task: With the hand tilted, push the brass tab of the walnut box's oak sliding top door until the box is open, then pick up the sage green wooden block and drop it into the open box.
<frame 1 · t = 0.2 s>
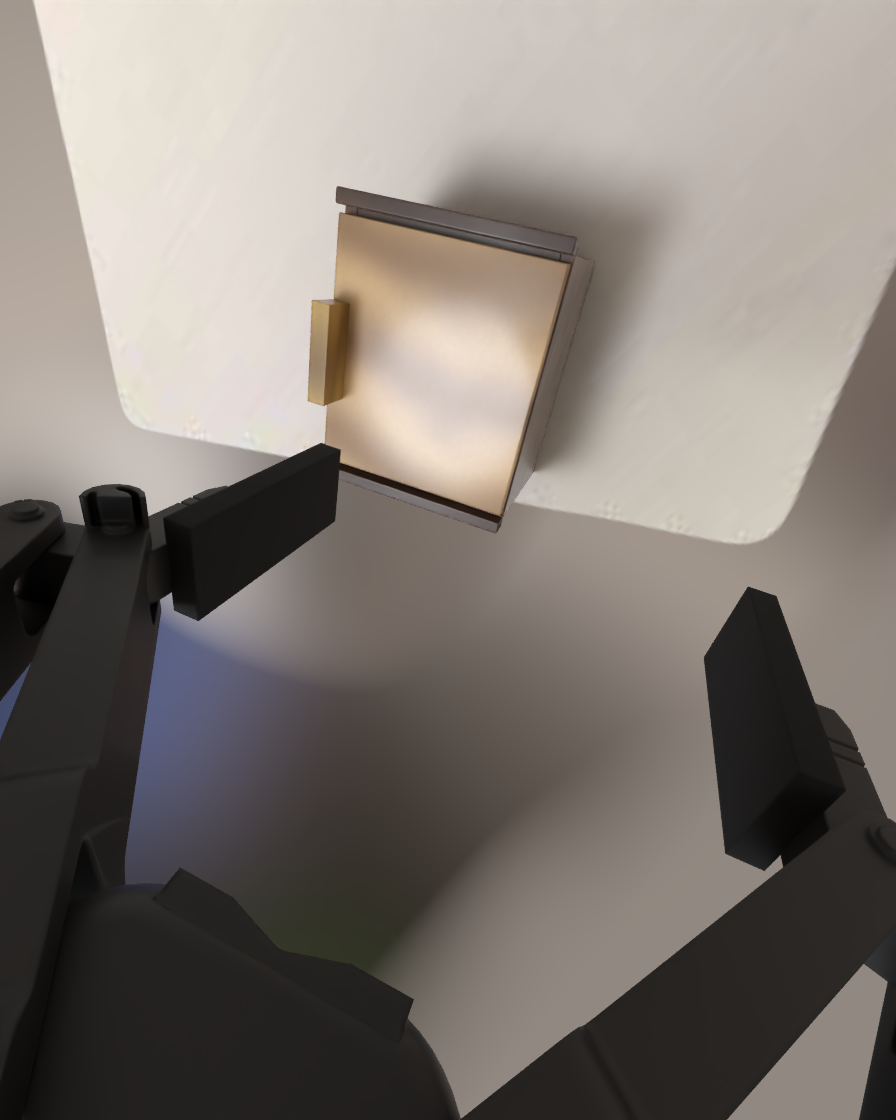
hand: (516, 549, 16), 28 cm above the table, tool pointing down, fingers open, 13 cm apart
sliding lid: (420, 378, 32), point 12 cm above the table, slide at 0.0 cm
walnut box: (477, 356, 41), on the table
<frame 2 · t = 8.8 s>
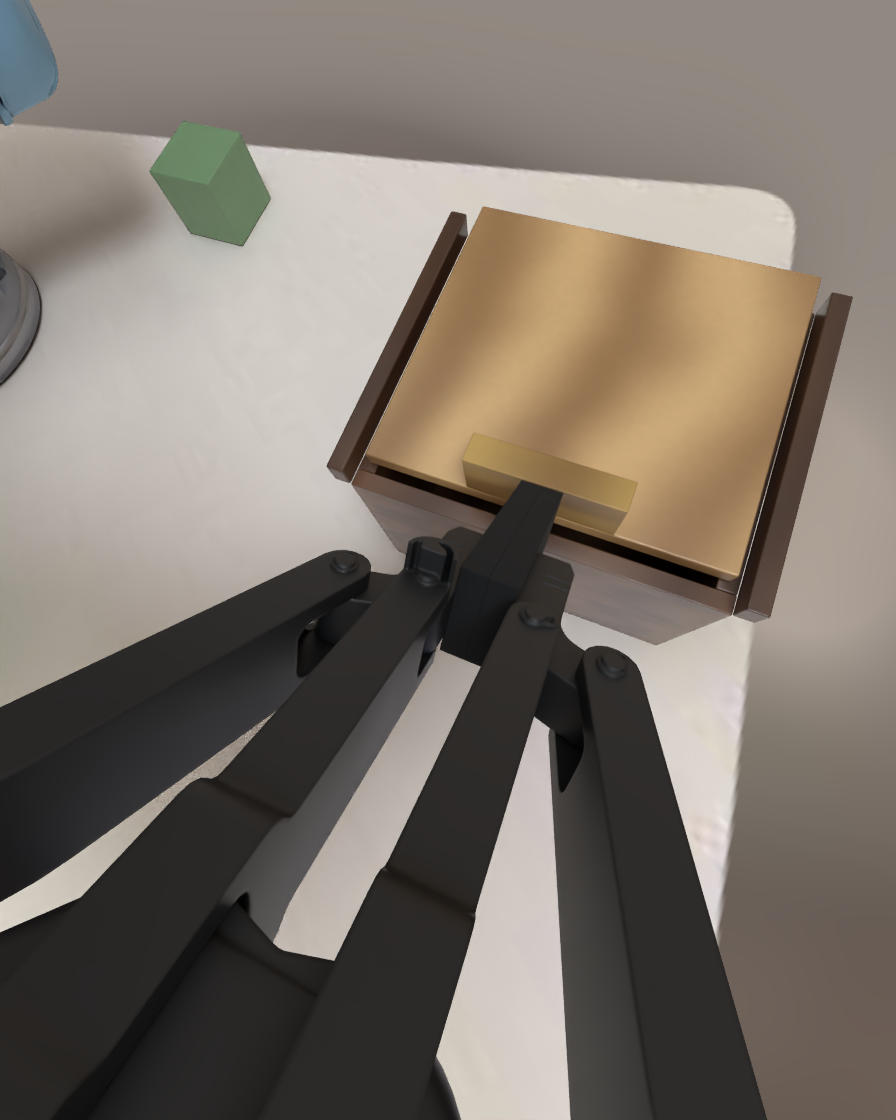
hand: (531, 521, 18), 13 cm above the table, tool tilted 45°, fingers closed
sliding lid: (596, 352, 21), point 12 cm above the table, slide at 1.1 cm, touching gripper
block: (230, 215, 41), on the table
walnut box: (559, 491, 32), on the table
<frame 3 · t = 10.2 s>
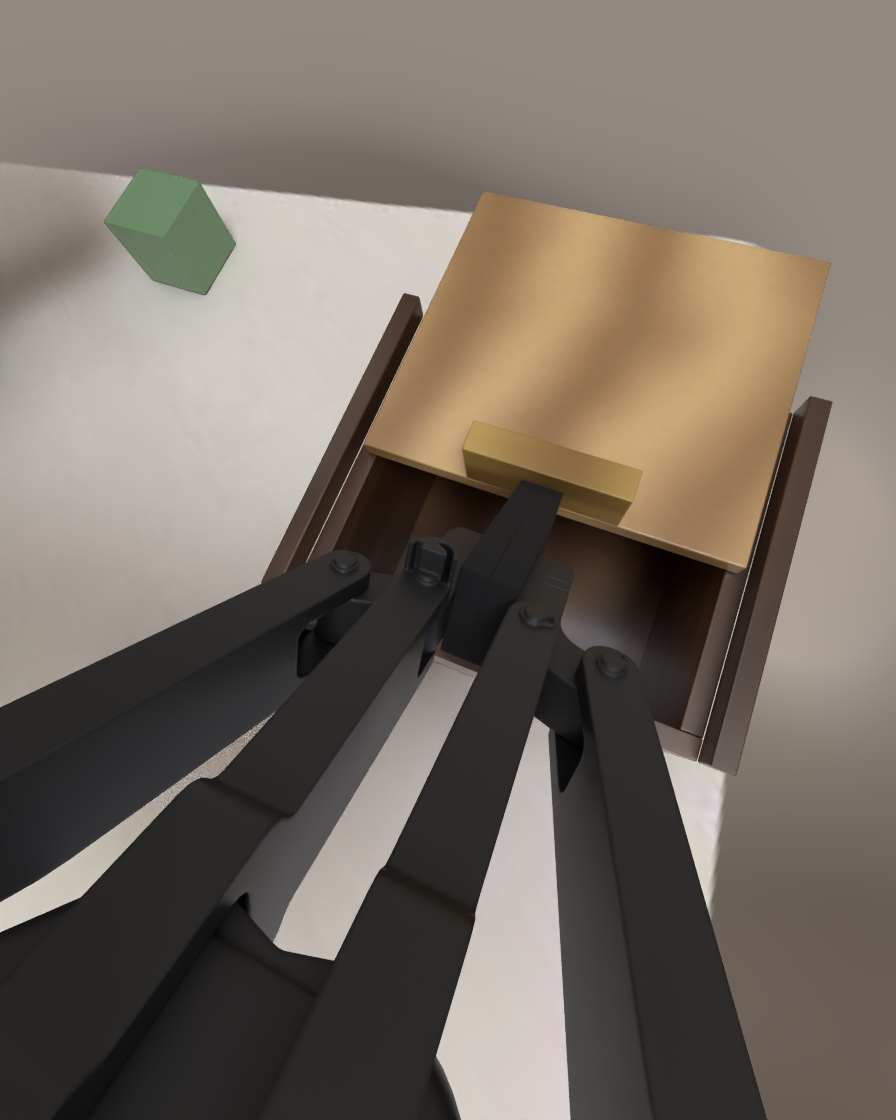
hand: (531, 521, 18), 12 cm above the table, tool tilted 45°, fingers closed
sliding lid: (599, 339, 20), point 12 cm above the table, slide at 6.7 cm, touching gripper
block: (194, 262, 39), on the table
walnut box: (529, 568, 30), on the table
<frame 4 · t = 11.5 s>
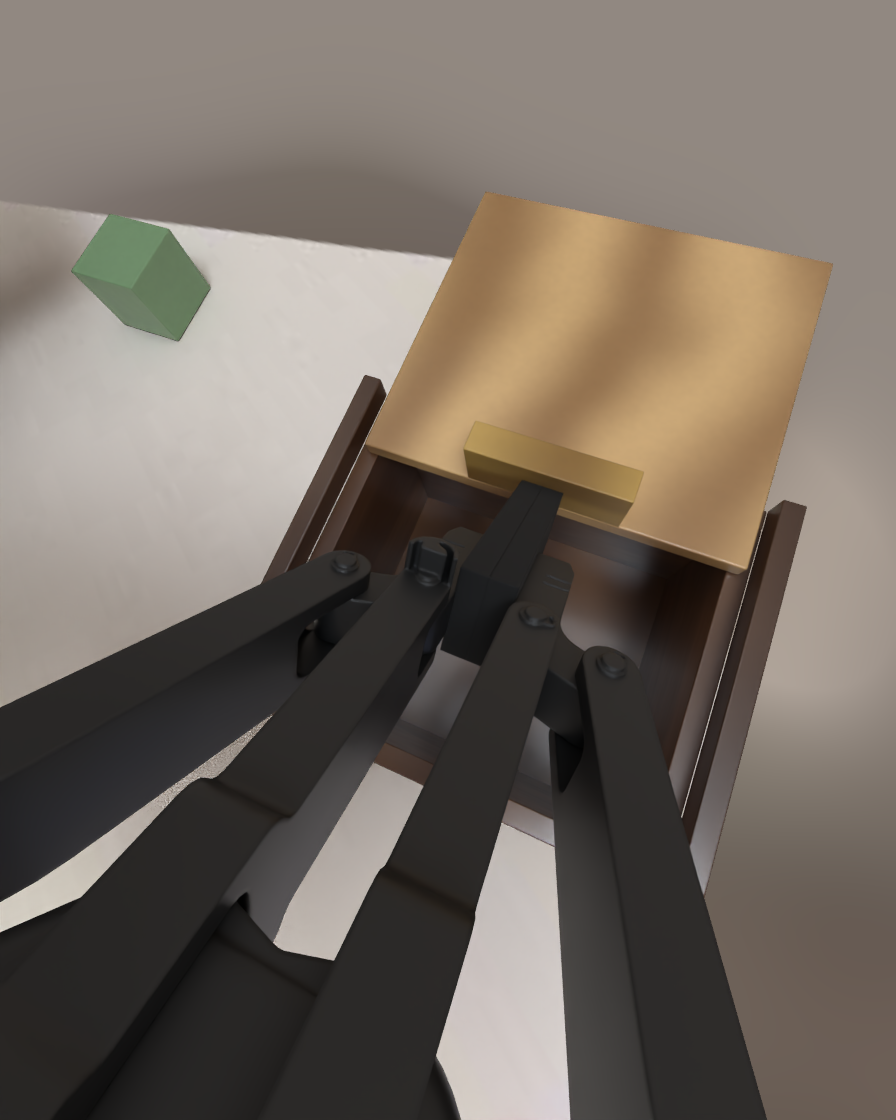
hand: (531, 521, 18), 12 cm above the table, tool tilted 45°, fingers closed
sliding lid: (601, 340, 20), point 12 cm above the table, slide at 11.0 cm, touching gripper
block: (167, 306, 38), on the table
walnut box: (503, 638, 29), on the table
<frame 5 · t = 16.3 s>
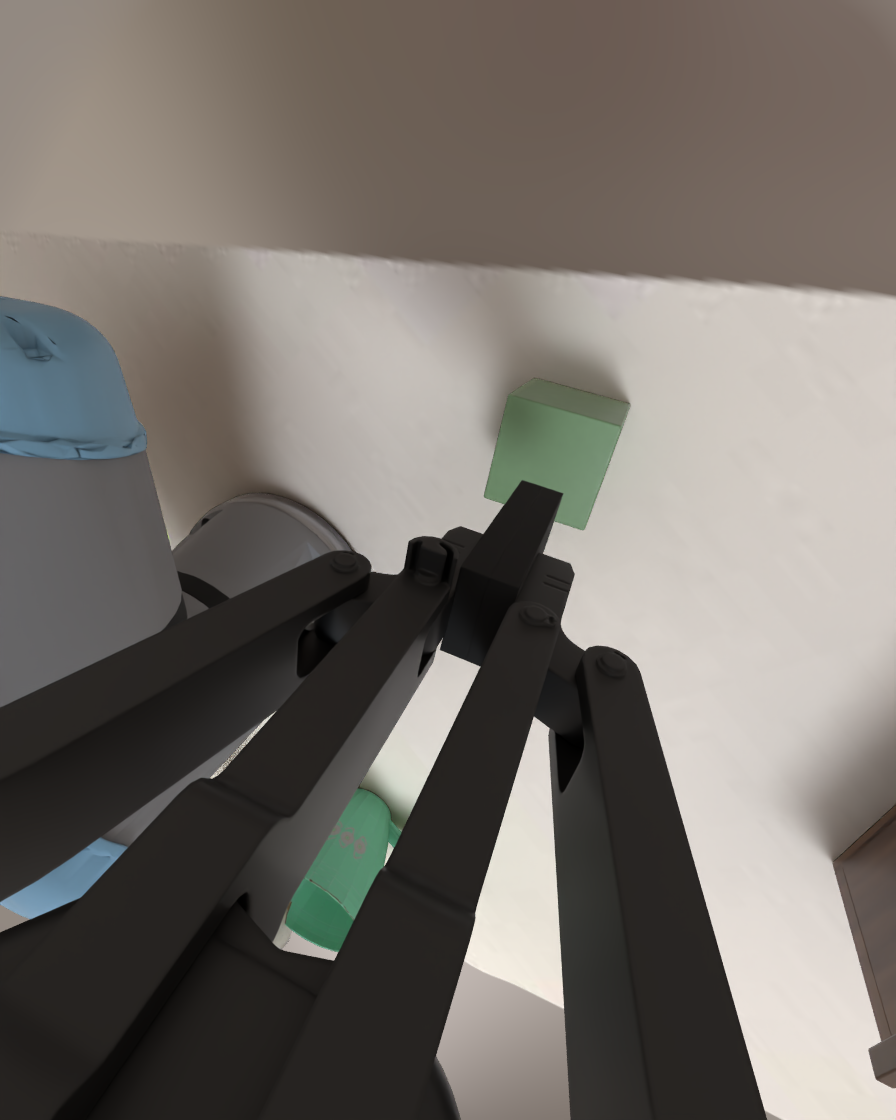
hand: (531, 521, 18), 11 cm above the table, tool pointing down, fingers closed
candle holder: (323, 830, 54), on the table
block: (566, 438, 27), on the table
mug: (391, 816, 49), on the table
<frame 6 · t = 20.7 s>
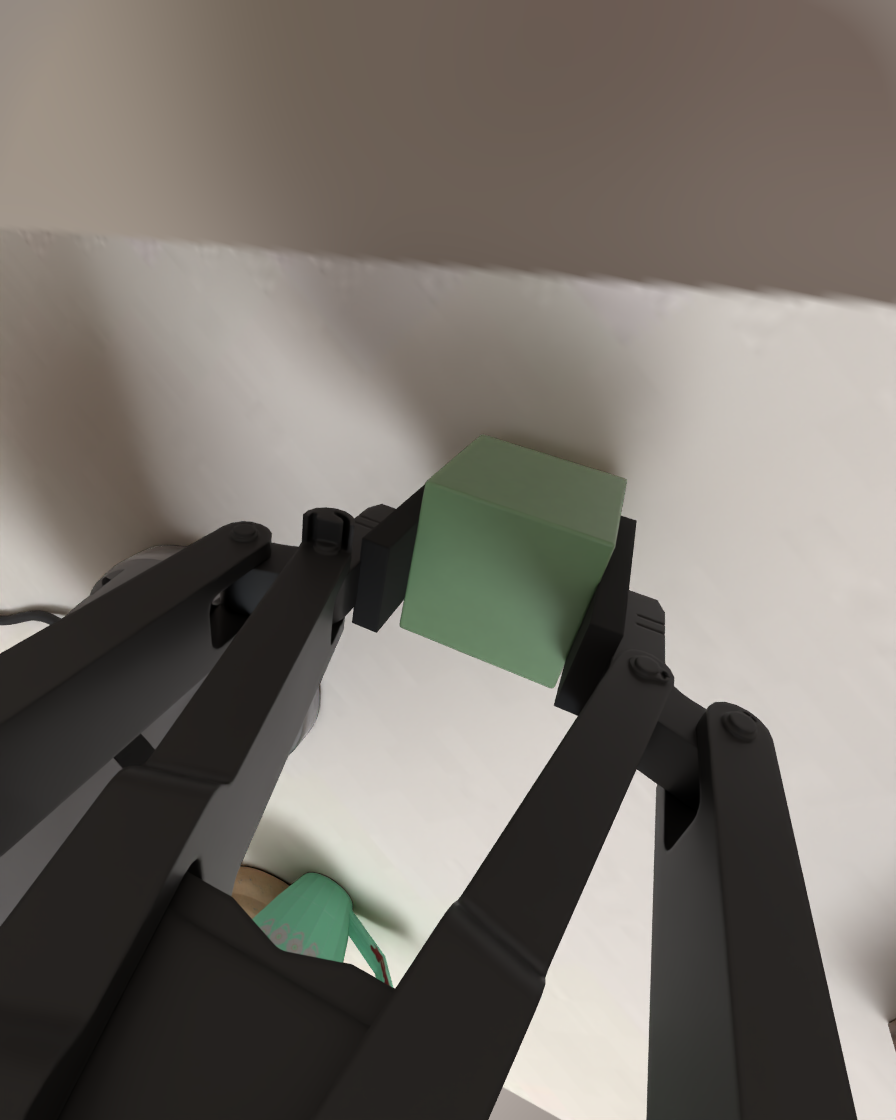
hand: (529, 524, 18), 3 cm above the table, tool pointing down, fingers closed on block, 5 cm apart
candle holder: (280, 907, 48), on the table
block: (531, 521, 18), point 2 cm above the table, touching gripper
mug: (354, 904, 42), on the table
when the fingers open (6 cm above the table, at t = 28.1 s): block drops 5 cm, resting on walnut box.
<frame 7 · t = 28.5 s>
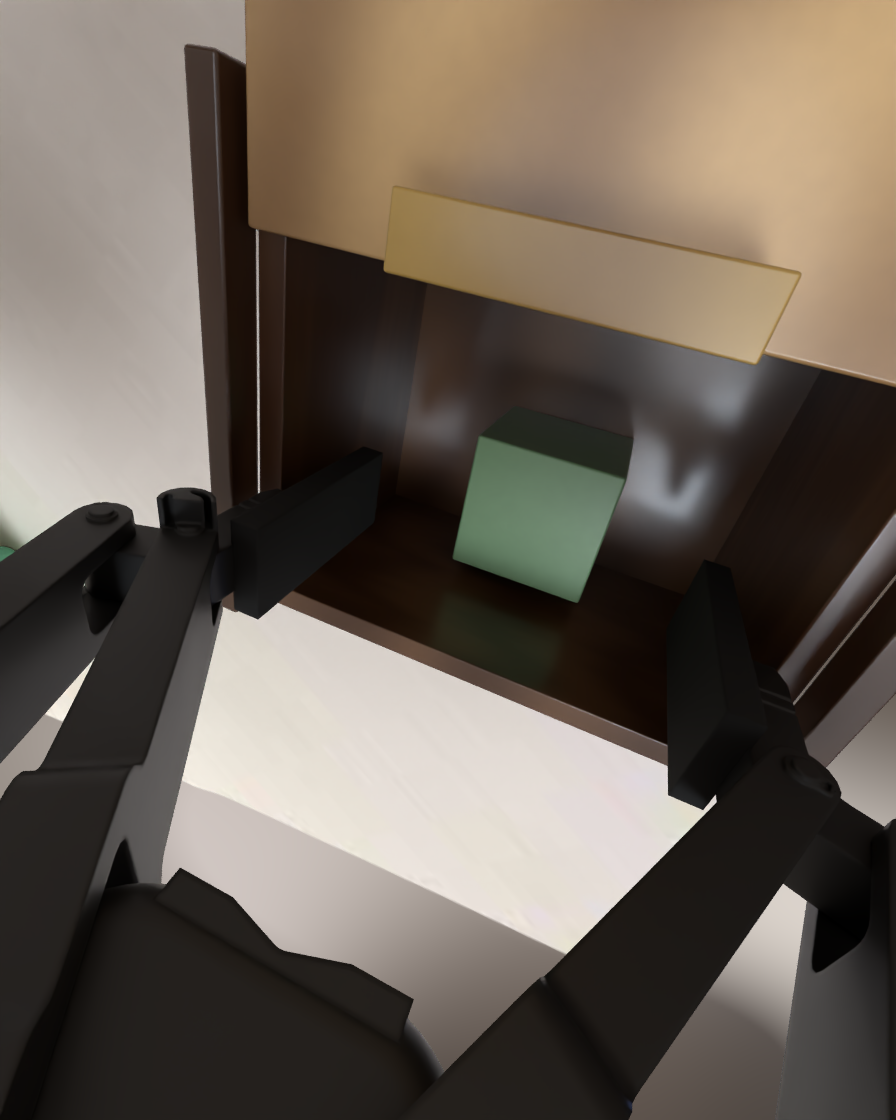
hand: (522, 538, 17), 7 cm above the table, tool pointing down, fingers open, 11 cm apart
block: (555, 478, 22), point 1 cm above the table, touching walnut box
walnut box: (581, 407, 21), on the table
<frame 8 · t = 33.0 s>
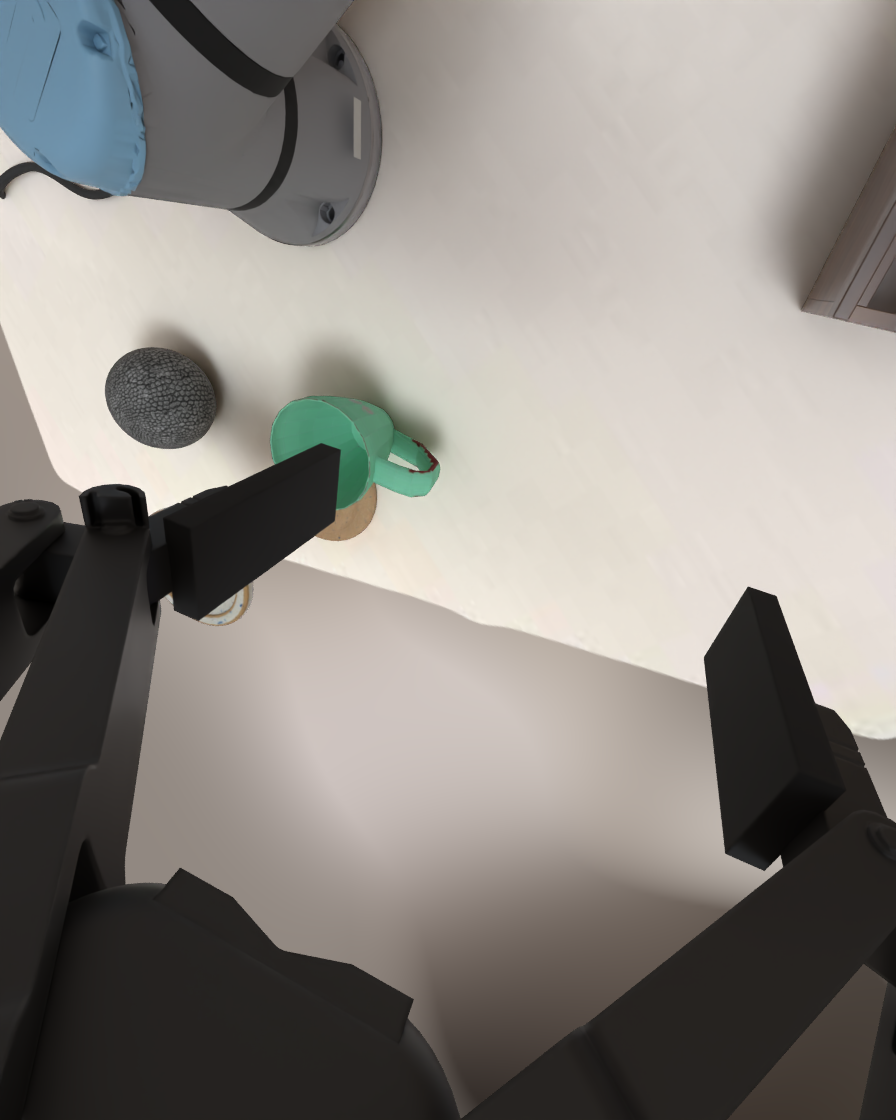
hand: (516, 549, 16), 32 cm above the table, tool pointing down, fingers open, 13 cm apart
candle holder: (329, 486, 57), on the table
decorative ball: (200, 390, 57), on the table
mug: (395, 435, 51), on the table
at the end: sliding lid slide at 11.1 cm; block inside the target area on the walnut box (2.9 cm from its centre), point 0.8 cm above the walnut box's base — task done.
